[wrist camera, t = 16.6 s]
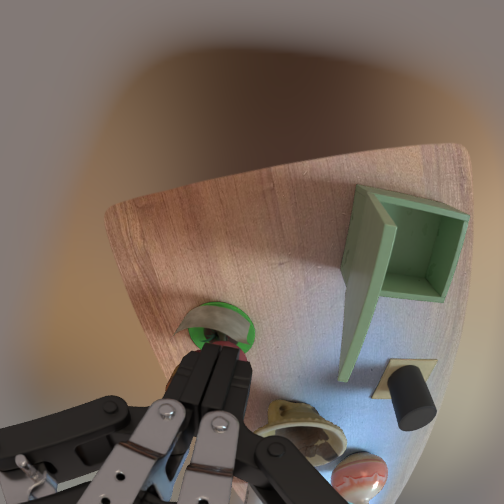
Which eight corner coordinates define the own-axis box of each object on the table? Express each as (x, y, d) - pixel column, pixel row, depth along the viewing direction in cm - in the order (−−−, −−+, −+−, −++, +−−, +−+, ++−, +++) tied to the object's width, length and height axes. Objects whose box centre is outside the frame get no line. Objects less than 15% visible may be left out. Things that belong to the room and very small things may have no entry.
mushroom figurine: (273, 351, 45) (263, 425, 31) (203, 362, 48) (175, 428, 34) (250, 288, 41) (228, 356, 27) (174, 304, 44) (131, 366, 30)
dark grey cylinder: (426, 364, 42) (443, 404, 32) (411, 390, 44) (425, 430, 35) (395, 364, 42) (409, 407, 33) (381, 390, 45) (392, 432, 35)
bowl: (233, 401, 50) (222, 440, 41) (318, 368, 45) (320, 411, 36) (281, 443, 54) (278, 478, 45) (357, 418, 48) (362, 456, 40)
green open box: (445, 203, 33) (470, 215, 27) (425, 280, 37) (443, 303, 31) (356, 184, 34) (369, 192, 28) (340, 269, 38) (347, 292, 32)
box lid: (397, 226, 14) (384, 223, 15) (347, 383, 19) (336, 381, 19) (374, 193, 27) (366, 192, 28) (351, 295, 32) (345, 293, 32)
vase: (395, 450, 52) (404, 508, 36) (355, 472, 57) (358, 526, 41) (360, 439, 51) (366, 505, 35) (319, 462, 56) (317, 522, 40)
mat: (437, 359, 41) (437, 360, 41) (415, 397, 45) (416, 398, 45) (390, 358, 42) (391, 359, 42) (371, 397, 46) (371, 399, 46)
